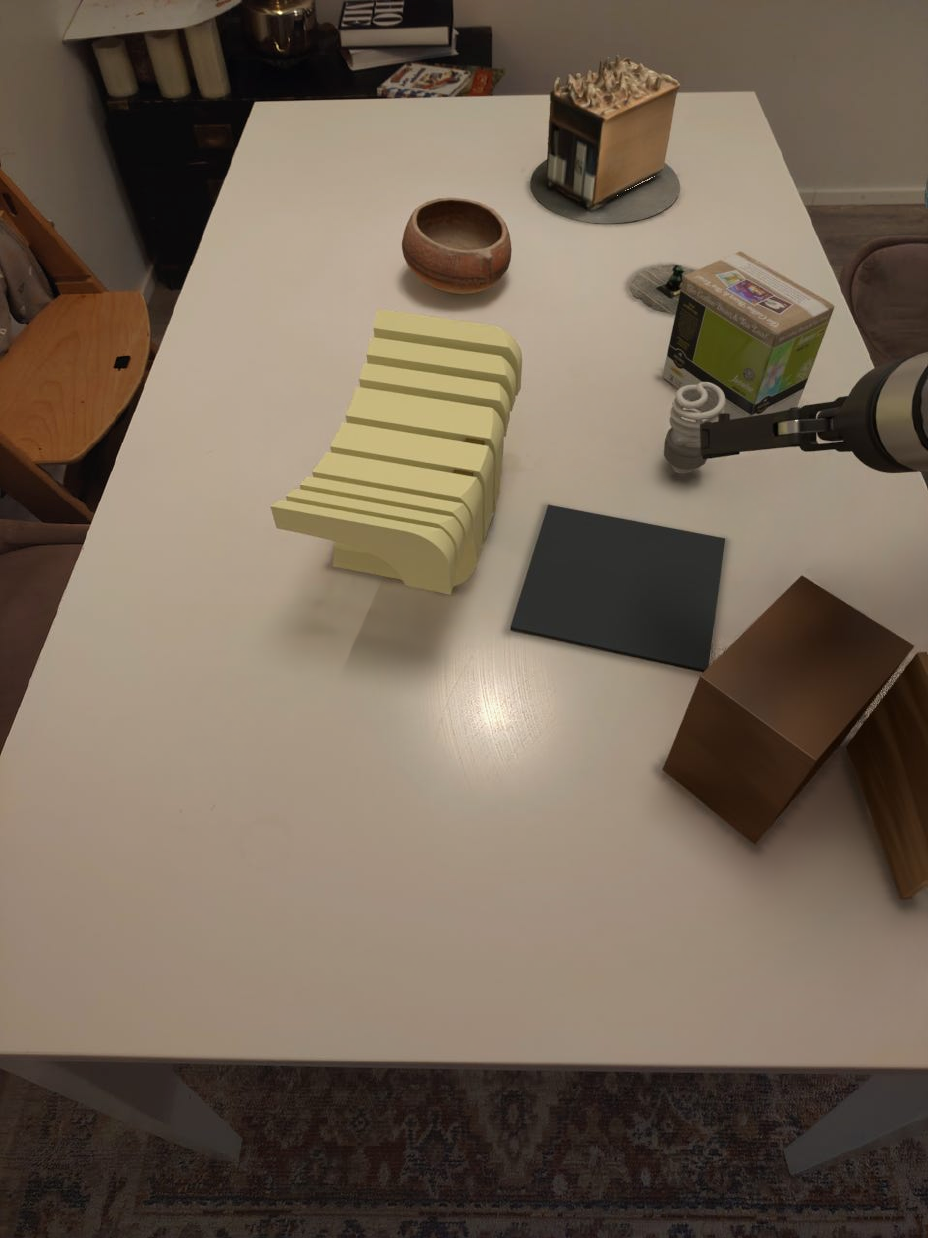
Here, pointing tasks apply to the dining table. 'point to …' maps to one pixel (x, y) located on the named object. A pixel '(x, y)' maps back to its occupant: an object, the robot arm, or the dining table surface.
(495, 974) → the dining table surface
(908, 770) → the cupboard door
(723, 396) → the light bulb
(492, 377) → the slatted curved stool
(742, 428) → the robot arm
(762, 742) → the cupboard
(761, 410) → the tea box
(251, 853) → the dining table surface
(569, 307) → the dining table surface
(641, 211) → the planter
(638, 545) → the mat
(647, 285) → the sculpture
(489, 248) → the bowl
